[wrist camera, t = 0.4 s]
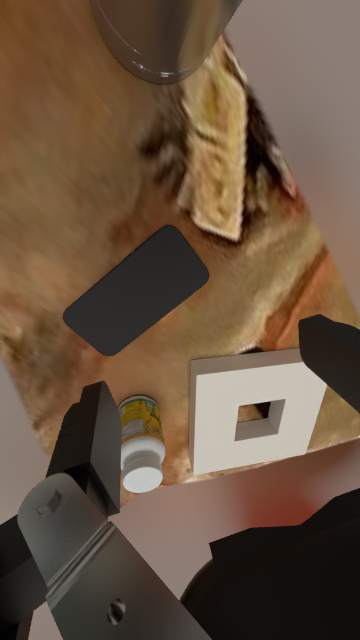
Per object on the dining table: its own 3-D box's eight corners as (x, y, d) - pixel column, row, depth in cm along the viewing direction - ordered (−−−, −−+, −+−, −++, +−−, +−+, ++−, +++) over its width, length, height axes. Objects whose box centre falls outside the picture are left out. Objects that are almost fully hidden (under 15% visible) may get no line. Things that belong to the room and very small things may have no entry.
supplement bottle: (110, 402, 33) (106, 474, 25) (151, 388, 34) (160, 455, 25) (125, 429, 36) (126, 503, 28) (163, 417, 36) (175, 486, 28)
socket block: (190, 360, 33) (196, 375, 30) (319, 345, 36) (335, 358, 33) (188, 456, 41) (193, 475, 38) (294, 438, 44) (305, 454, 41)
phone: (56, 317, 27) (171, 219, 25) (58, 313, 28) (169, 218, 26) (109, 360, 30) (213, 278, 28) (109, 356, 31) (211, 275, 29)
